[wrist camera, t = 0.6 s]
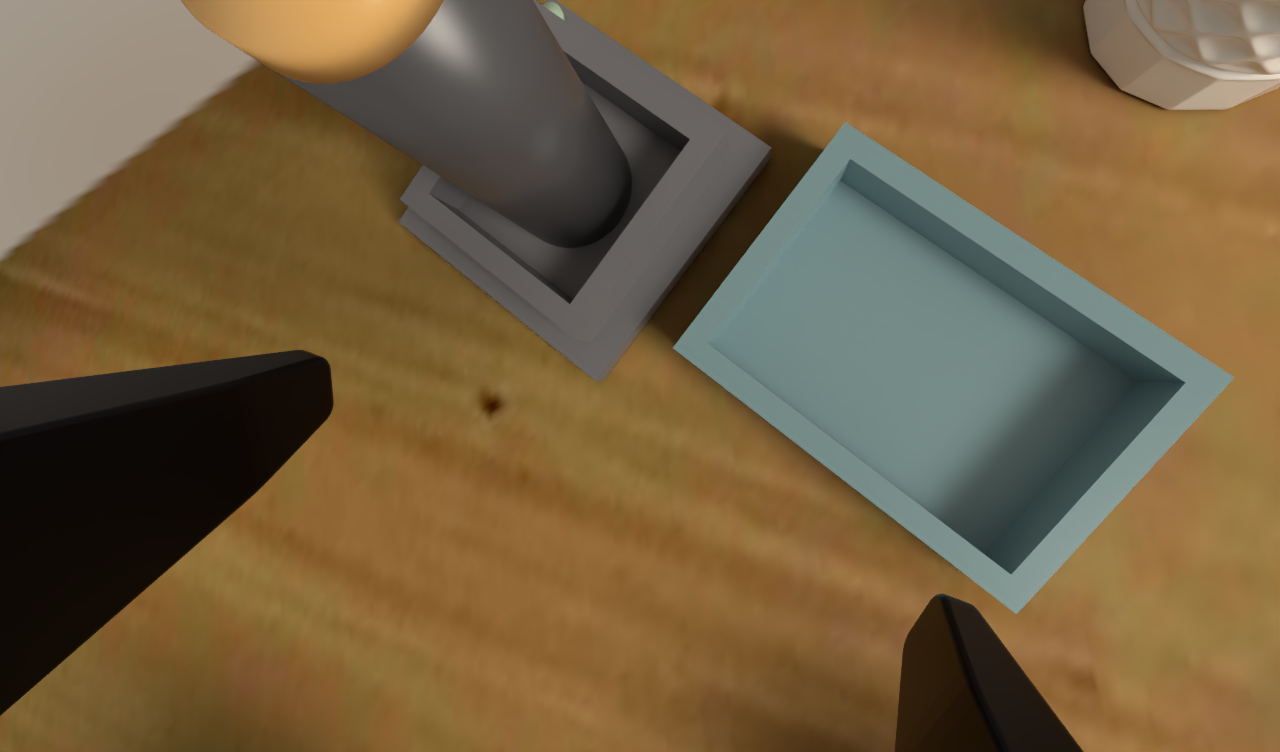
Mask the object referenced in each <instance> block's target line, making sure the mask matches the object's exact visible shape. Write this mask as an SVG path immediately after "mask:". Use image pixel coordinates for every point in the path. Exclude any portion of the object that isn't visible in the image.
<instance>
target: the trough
mask: <svg viewBox="0 0 1280 752" xmlns="http://www.w3.org/2000/svg"><path fill="white" fill-rule="evenodd" d="M673 349H675V350H676V351H677V352H678V353H680V354H681V355H682V356H684V357H685V358H686V359H687V360H689V361H690V362H691V363H693V364H694V365H695V366H696V367H698V368H699V369H700V370H702V371H703V372H704V373H706V374H707V375H708V376H709V377H711V378H712V379H713V380H715V381H716V382H717V383H718V384H720V385H721V386H722V387H724V388H725V389H726V390H727V391H729V392H730V393H731V394H733V395H734V396H735V397H737V398H738V399H739V400H740V401H742V402H743V403H744V404H746V405H747V406H748V407H749V408H751V409H752V410H753V411H755V412H756V413H757V414H758V415H760V416H761V417H762V418H764V419H765V420H766V421H768V422H769V423H770V424H771V425H773V426H774V427H775V428H777V429H778V430H779V431H780V432H782V433H783V434H784V435H786V436H787V437H788V438H789V439H791V440H792V441H793V442H795V443H796V444H797V445H799V446H800V447H801V448H802V449H804V450H805V451H806V452H808V453H809V454H810V455H811V456H813V457H814V458H815V459H817V460H818V461H819V462H821V463H822V464H823V465H824V466H826V467H827V468H828V469H830V470H831V471H832V472H833V473H835V474H836V475H837V476H839V477H840V478H841V479H842V480H844V481H845V482H846V483H848V484H849V485H850V486H852V487H853V488H854V489H855V490H857V491H858V492H859V493H861V494H862V495H863V496H864V497H866V498H867V499H868V500H870V501H871V502H872V503H873V504H875V505H876V506H877V507H879V508H880V509H881V510H883V511H884V512H885V513H886V514H888V515H889V516H890V517H892V518H893V519H894V520H895V521H897V522H898V523H899V524H901V525H902V526H903V527H904V528H906V529H907V530H908V531H910V532H911V533H912V534H914V535H915V536H916V537H917V538H919V539H920V540H921V541H923V542H924V543H925V544H926V545H928V546H929V547H930V548H932V549H933V550H934V551H935V552H937V553H938V554H939V555H941V556H942V557H943V558H945V559H946V560H947V561H948V562H950V563H951V564H952V565H954V566H955V567H956V568H957V569H959V570H960V571H961V572H963V573H964V574H965V575H966V576H968V577H969V578H970V579H972V580H973V581H974V582H976V583H977V584H978V585H979V586H981V587H982V588H983V589H985V590H986V591H987V592H988V593H990V594H991V595H992V596H994V597H995V598H996V599H997V600H999V601H1000V602H1001V603H1003V604H1004V605H1005V606H1007V607H1008V608H1009V609H1010V610H1012V611H1013V612H1014V613H1016V614H1017V613H1018V612H1019V611H1020V610H1021V609H1022V608H1023V607H1024V606H1025V605H1026V604H1027V602H1028V601H1029V600H1030V599H1031V598H1032V597H1033V596H1034V595H1035V594H1036V593H1037V592H1038V591H1039V589H1040V588H1041V587H1042V586H1043V585H1044V584H1045V583H1046V582H1047V581H1048V580H1049V579H1050V577H1051V576H1052V575H1053V574H1054V573H1055V572H1056V571H1057V570H1058V569H1059V568H1060V567H1061V566H1062V564H1063V563H1064V562H1065V561H1066V560H1067V559H1068V558H1069V557H1070V556H1071V555H1072V554H1073V552H1074V551H1075V550H1076V549H1077V548H1078V547H1079V546H1080V545H1081V544H1082V543H1083V542H1084V541H1085V539H1086V538H1087V537H1088V536H1089V535H1090V534H1091V533H1092V532H1093V531H1094V530H1095V529H1096V527H1097V526H1098V525H1099V524H1100V523H1101V522H1102V521H1103V520H1104V519H1105V518H1106V517H1107V516H1108V514H1109V513H1110V512H1111V511H1112V510H1113V509H1114V508H1115V507H1116V506H1117V505H1118V504H1119V502H1120V501H1121V500H1122V499H1123V498H1124V497H1125V496H1126V495H1127V494H1128V493H1129V492H1130V491H1131V489H1132V488H1133V487H1134V486H1135V485H1136V484H1137V483H1138V482H1139V481H1140V480H1141V479H1142V477H1143V476H1144V475H1145V474H1146V473H1147V472H1148V471H1149V470H1150V469H1151V468H1152V467H1153V466H1154V464H1155V463H1156V462H1157V461H1158V460H1159V459H1160V458H1161V457H1162V456H1163V455H1164V454H1165V452H1166V451H1167V450H1168V449H1169V448H1170V447H1171V446H1172V445H1173V444H1174V443H1175V442H1176V441H1177V439H1178V438H1179V437H1180V436H1181V435H1182V434H1183V433H1184V432H1185V431H1186V430H1187V429H1188V427H1189V426H1190V425H1191V424H1192V423H1193V422H1194V421H1195V420H1196V419H1197V418H1198V417H1199V416H1200V414H1201V413H1202V412H1203V411H1204V410H1205V409H1206V408H1207V407H1208V406H1209V405H1210V404H1211V402H1212V401H1213V400H1214V399H1215V398H1216V397H1217V396H1218V395H1219V394H1220V393H1221V392H1222V391H1223V389H1224V388H1225V387H1226V386H1227V385H1228V384H1229V383H1230V382H1231V381H1232V380H1233V379H1234V377H1233V376H1231V375H1230V374H1228V373H1227V372H1225V371H1224V370H1222V369H1221V368H1219V367H1218V366H1216V365H1215V364H1213V363H1212V362H1210V361H1208V360H1207V359H1205V358H1204V357H1202V356H1201V355H1199V354H1198V353H1196V352H1195V351H1193V350H1192V349H1190V348H1189V347H1187V346H1186V345H1184V344H1183V343H1181V342H1180V341H1178V340H1176V339H1175V338H1173V337H1172V336H1170V335H1169V334H1167V333H1166V332H1164V331H1163V330H1161V329H1160V328H1158V327H1157V326H1155V325H1154V324H1152V323H1151V322H1149V321H1148V320H1146V319H1145V318H1143V317H1141V316H1140V315H1138V314H1137V313H1135V312H1134V311H1132V310H1131V309H1129V308H1128V307H1126V306H1125V305H1123V304H1122V303H1120V302H1119V301H1117V300H1116V299H1114V298H1113V297H1111V296H1109V295H1108V294H1106V293H1105V292H1103V291H1102V290H1100V289H1099V288H1097V287H1096V286H1094V285H1093V284H1091V283H1090V282H1088V281H1087V280H1085V279H1084V278H1082V277H1081V276H1079V275H1077V274H1076V273H1074V272H1073V271H1071V270H1070V269H1068V268H1067V267H1065V266H1064V265H1062V264H1061V263H1059V262H1058V261H1056V260H1055V259H1053V258H1052V257H1050V256H1049V255H1047V254H1045V253H1044V252H1042V251H1041V250H1039V249H1038V248H1036V247H1035V246H1033V245H1032V244H1030V243H1029V242H1027V241H1026V240H1024V239H1023V238H1021V237H1020V236H1018V235H1017V234H1015V233H1014V232H1012V231H1010V230H1009V229H1007V228H1006V227H1004V226H1003V225H1001V224H1000V223H998V222H997V221H995V220H994V219H992V218H991V217H989V216H988V215H986V214H985V213H983V212H982V211H980V210H978V209H977V208H975V207H974V206H972V205H971V204H969V203H968V202H966V201H965V200H963V199H962V198H960V197H959V196H957V195H956V194H954V193H953V192H951V191H950V190H948V189H946V188H945V187H943V186H942V185H940V184H939V183H937V182H936V181H934V180H933V179H931V178H930V177H928V176H927V175H925V174H924V173H922V172H921V171H919V170H918V169H916V168H914V167H913V166H911V165H910V164H908V163H907V162H905V161H904V160H902V159H901V158H899V157H898V156H896V155H895V154H893V153H892V152H890V151H889V150H887V149H886V148H884V147H883V146H881V145H879V144H878V143H876V142H875V141H873V140H872V139H870V138H869V137H867V136H866V135H864V134H863V133H861V132H860V131H858V130H857V129H855V128H854V127H852V126H851V125H849V124H847V123H846V122H845V123H844V125H843V126H842V127H841V128H840V130H839V131H838V132H837V134H836V135H835V136H834V138H833V139H832V140H831V142H830V143H829V144H828V145H827V147H826V148H825V149H824V151H823V152H822V153H821V155H820V156H819V157H818V159H817V160H816V161H815V162H814V164H813V165H812V166H811V168H810V169H809V170H808V172H807V173H806V174H805V176H804V177H803V178H802V179H801V181H800V182H799V183H798V185H797V186H796V187H795V189H794V190H793V191H792V193H791V194H790V195H789V196H788V198H787V199H786V200H785V202H784V203H783V204H782V206H781V207H780V208H779V210H778V211H777V212H776V213H775V215H774V216H773V217H772V219H771V220H770V221H769V223H768V224H767V225H766V227H765V228H764V229H763V230H762V232H761V233H760V234H759V236H758V237H757V238H756V240H755V241H754V242H753V244H752V245H751V246H750V247H749V249H748V250H747V251H746V253H745V254H744V255H743V257H742V258H741V259H740V261H739V262H738V263H737V264H736V266H735V267H734V268H733V270H732V271H731V272H730V274H729V275H728V276H727V278H726V279H725V280H724V281H723V283H722V284H721V285H720V287H719V288H718V289H717V291H716V292H715V293H714V295H713V296H712V297H711V298H710V300H709V301H708V302H707V304H706V305H705V306H704V308H703V309H702V310H701V312H700V313H699V314H698V316H697V317H696V318H695V319H694V321H693V322H692V323H691V325H690V326H689V327H688V329H687V330H686V331H685V333H684V334H683V335H682V336H681V338H680V339H679V340H678V342H677V343H676V344H675V346H674V347H673Z"/></svg>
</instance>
